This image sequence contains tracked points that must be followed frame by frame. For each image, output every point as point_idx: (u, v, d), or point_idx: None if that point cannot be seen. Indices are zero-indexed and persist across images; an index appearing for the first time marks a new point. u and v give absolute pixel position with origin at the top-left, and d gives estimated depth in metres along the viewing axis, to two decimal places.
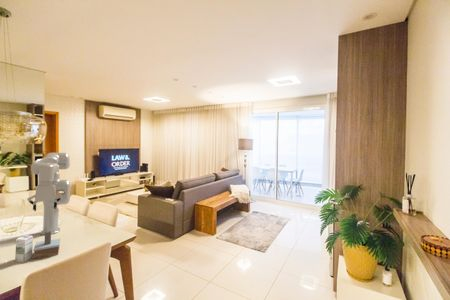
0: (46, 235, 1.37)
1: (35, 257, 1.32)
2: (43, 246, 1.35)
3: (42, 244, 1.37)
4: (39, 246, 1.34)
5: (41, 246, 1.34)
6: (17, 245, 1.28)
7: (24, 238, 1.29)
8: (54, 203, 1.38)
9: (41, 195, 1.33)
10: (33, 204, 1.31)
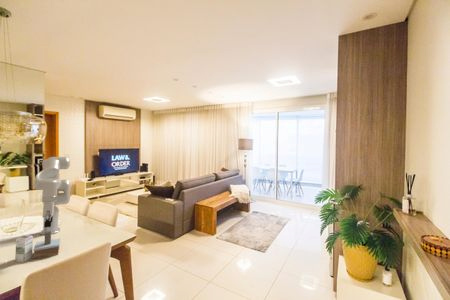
0: (46, 235, 1.37)
1: (35, 257, 1.32)
2: (43, 246, 1.35)
3: (42, 244, 1.37)
4: (39, 246, 1.34)
5: (41, 246, 1.34)
6: (17, 245, 1.28)
7: (24, 238, 1.29)
8: (52, 216, 1.43)
9: (53, 210, 1.38)
10: (50, 220, 1.34)
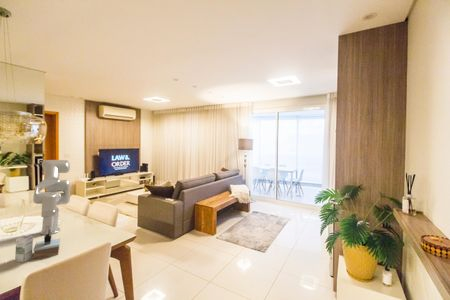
0: None
1: (35, 257, 1.32)
2: (43, 246, 1.35)
3: (42, 244, 1.37)
4: (39, 246, 1.34)
5: (41, 246, 1.34)
6: (17, 245, 1.28)
7: (24, 238, 1.29)
8: None
9: (52, 224, 1.38)
10: (50, 235, 1.37)
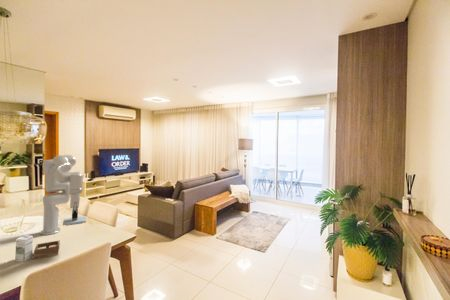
0: (73, 211, 1.45)
1: (35, 257, 1.32)
2: (71, 221, 1.42)
3: (70, 220, 1.45)
4: (67, 221, 1.42)
5: (69, 221, 1.42)
6: (17, 245, 1.28)
7: (24, 238, 1.29)
8: None
9: (79, 201, 1.46)
10: None
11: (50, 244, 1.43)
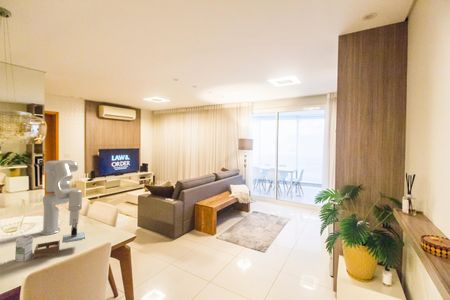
0: None
1: (35, 257, 1.32)
2: (70, 238, 1.43)
3: (69, 237, 1.45)
4: (67, 238, 1.42)
5: (69, 238, 1.42)
6: (17, 245, 1.28)
7: (24, 238, 1.29)
8: None
9: None
10: (76, 228, 1.45)
11: (50, 244, 1.43)
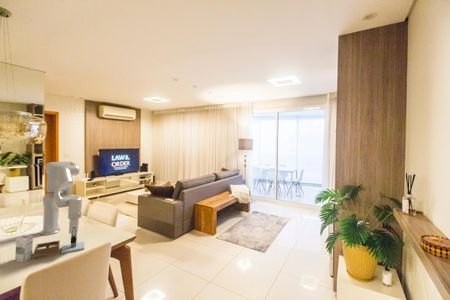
0: None
1: (35, 257, 1.32)
2: (70, 249, 1.43)
3: (68, 247, 1.45)
4: (66, 249, 1.42)
5: (68, 249, 1.43)
6: (17, 245, 1.28)
7: (24, 238, 1.29)
8: (76, 232, 1.51)
9: None
10: (76, 236, 1.43)
11: (50, 244, 1.43)
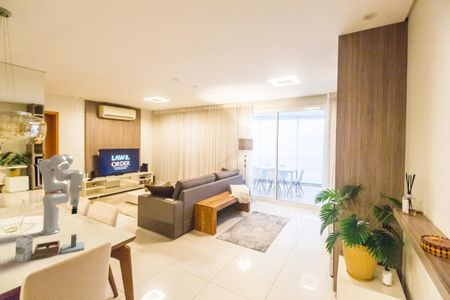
0: (72, 238, 1.45)
1: (35, 257, 1.32)
2: (70, 249, 1.43)
3: (68, 247, 1.45)
4: (66, 249, 1.42)
5: (68, 249, 1.43)
6: (17, 245, 1.28)
7: (24, 238, 1.29)
8: (77, 204, 1.58)
9: (78, 199, 1.53)
10: (76, 207, 1.49)
11: (50, 244, 1.43)
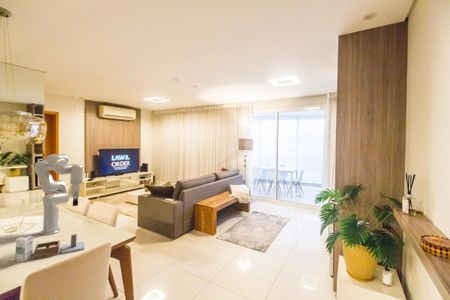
0: (72, 238, 1.45)
1: (35, 257, 1.32)
2: (70, 249, 1.43)
3: (68, 247, 1.45)
4: (66, 249, 1.42)
5: (68, 249, 1.43)
6: (17, 245, 1.28)
7: (24, 238, 1.29)
8: None
9: None
10: (77, 199, 1.54)
11: (50, 244, 1.43)
